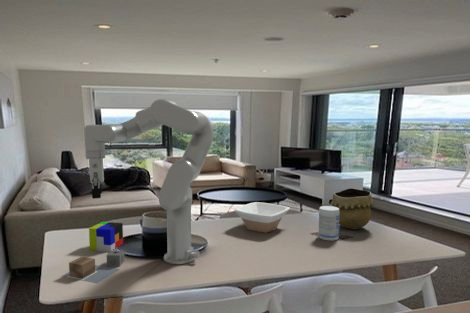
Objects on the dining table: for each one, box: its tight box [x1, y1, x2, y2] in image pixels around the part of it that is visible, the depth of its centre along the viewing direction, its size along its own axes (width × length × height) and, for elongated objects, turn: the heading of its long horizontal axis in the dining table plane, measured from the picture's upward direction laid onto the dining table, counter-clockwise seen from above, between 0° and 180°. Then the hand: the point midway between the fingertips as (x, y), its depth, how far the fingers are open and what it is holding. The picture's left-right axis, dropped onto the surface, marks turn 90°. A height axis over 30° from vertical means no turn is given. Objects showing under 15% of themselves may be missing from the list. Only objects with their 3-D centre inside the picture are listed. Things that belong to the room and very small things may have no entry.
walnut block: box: [68, 256, 96, 279], centre depth 124 cm, size 6×6×5 cm
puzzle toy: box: [88, 221, 124, 253], centre depth 152 cm, size 10×10×10 cm
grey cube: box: [106, 249, 126, 267], centre depth 133 cm, size 5×5×5 cm
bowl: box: [233, 201, 290, 234], centre depth 181 cm, size 24×25×11 cm
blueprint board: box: [60, 264, 121, 284], centre depth 125 cm, size 16×12×1 cm
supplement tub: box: [318, 205, 340, 242], centre depth 165 cm, size 10×10×15 cm
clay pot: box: [330, 187, 375, 230], centre depth 180 cm, size 21×21×20 cm
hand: (97, 195), depth 144 cm, fingers open, 9 cm apart
